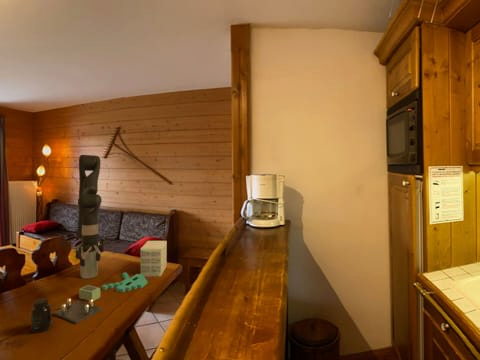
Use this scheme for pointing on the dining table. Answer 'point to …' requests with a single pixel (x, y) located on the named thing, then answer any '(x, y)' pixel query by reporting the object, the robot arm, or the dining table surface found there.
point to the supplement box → (153, 258)
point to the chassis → (77, 311)
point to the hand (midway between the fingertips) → (90, 263)
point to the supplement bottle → (40, 316)
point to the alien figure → (128, 283)
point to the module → (89, 293)
